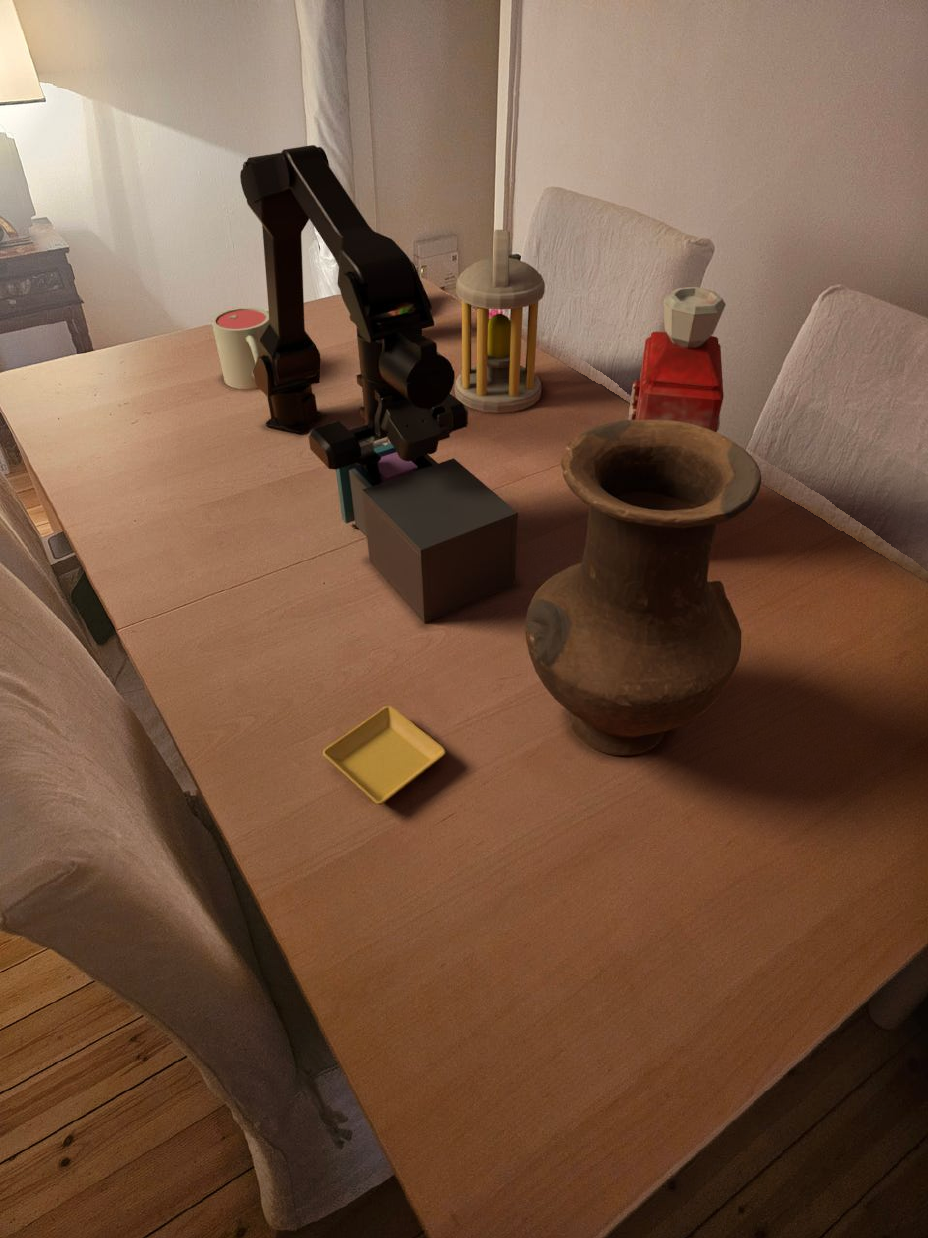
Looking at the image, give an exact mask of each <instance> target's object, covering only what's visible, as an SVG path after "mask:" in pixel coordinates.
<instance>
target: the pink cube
mask: <svg viewBox="0 0 928 1238" xmlns="http://www.w3.org/2000/svg"><path fill="white" fill-rule="evenodd" d="M378 468H379V474H380V481H381V483H383V482H386V481H389V480H392V479H395V478H398V477H401V476H404V475H406V474H409V473H412V472H415V471H418V467H417V466H416V465H415V464H414V463H413V462H412V461H404V460H402V459H401V458H400V457H399V456H398V453H397V452H395V453H392V454H389V455H386V456H383V457H381V459H380V461H379V462H378Z"/></svg>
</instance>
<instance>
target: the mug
mask: <svg viewBox="0 0 928 1238" xmlns="http://www.w3.org/2000/svg"><path fill="white" fill-rule="evenodd" d="M211 325H212V330H213V334H214V340H215V343H216V349H217V352H218V357H219V361H220V362H219V363H220V367H221V371H222V375H223V381H224V383H225V384H226V385H227V386H228V387H231V388H234V389H239V390H256V389H260V388H259V387H258V386H257V385H256V382H255V378H254V375H253V369H254V367H255V364H256V361H257V359H258V357H260V356H259V340H260V338H261V337H262V335H263V333H264V332H265V330H266V328H267V327H268V325H269V311H267V310H265V309H263V308H258V307H247V306H244V307H235V308H230V309H226V310H222V311H220V312H218V313H217V314H215V315H214V316H213V317H212V319H211Z"/></svg>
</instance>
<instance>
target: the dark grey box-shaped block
mask: <svg viewBox="0 0 928 1238" xmlns="http://www.w3.org/2000/svg"><path fill="white" fill-rule="evenodd" d="M362 495H363V505H364V514H365V523H366V532H367V537H366V541H367V547H368V548H367V550H368V558H369V559H368V560H369V562H370V564H372V565H373V567H374V568H375V569H376V570H377V571H378V572H379V574H380V575H381V576H382V577H383V579H385V580H386V581H387V582H388V584H389V585H390V586H391V587H392V588H393V589H394V591H395V592H396V593H397V594H398V595H399V596H400V598H402V600H403V601H404V602H405V603H406V604H407V605H408V606H409V607H410V609H411V610H412V611H413V612H414V613H415V614H416V615H417V617H418V618H419V619H420V620H421V621H422V622H423V623H424V624H426V623H428V622H431V621H433V620H436V619H438V618H440V617H443V616H445V615H447V614H450V613H452V612H454V611H457V610H459V609H462V608H464V607H466V606H468V605H471V604H473V603H475V602H478V601H480V600H482V599H484V598H487V597H489V596H492V595H494V594H497V593H499V592H501V591H504V590H506V589H508V588H511V587H512V586H515V583H516V581H515V580H516V561H517V560H516V559H517V542H518V541H517V540H518V538H517V537H518V518H519V512H518V511H517V510H516V509H514V508H513V506H511V505H510V504H508V503H507V502H506V501H505V500H504V499H502V497H500V496H499V495H498V494H497V493H495V492H494V491H493V490H492V489H491V488H490V487H489V486H488V485H486V484H485V483H484V482H482V480H480V479H479V478H478V477H476V476H475V475H474V474H473V473H472V472H471V471H469V469H467V468H466V467H465V466H464V465H463V464H461V462H459V461H458V460H457V459H456V458H450V459H447V460H444V461H441V462H438V464H436V465H433V466H430V467H427V468H424V469H421V470H418V471H415V472H412V473H409V474H406V475H404V476H401V477H398V478H395V479H392V480H389V481H386V482H383V483H380V484H377V485H374V486H371V487H368V488H366V489H363V490H362Z"/></svg>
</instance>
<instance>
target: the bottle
mask: <svg viewBox="0 0 928 1238" xmlns="http://www.w3.org/2000/svg"><path fill="white" fill-rule="evenodd" d="M662 303H663V323H664V325H663V326H664V331H652V332H651V333H650V336H649V337H647V338H646V339H645V342H644V347H643V348H644V349H643V355H642V362H641V369H640V374H639V375H640V376H639V379H638V380H635V381H634V383H632V389H631V394H630V401H629V410H628V415H627V416H628V417H627V420H672V421H680V422H685V423H690V424H693V425H697V426H700V427H703V428H706V429H709V430H712V431H714V432H716V433H718V431H719V430H720V427H721V426H720V425H721V417H720V416H721V415H720V414H721V410H722V406H723V401H724V397H725V395H724V384H723V382H724V381H723V364H722V349H721V348H722V347H721V344H720V343H719V338H718V337H717V336H714V333H715V331H716V329H717V326H718V323H719V321H720V319H721V316H722V315H723V312H724V310H725V307H726V306H727V305H726V302H725V301H724V299H723V298H722V297H721V296H720V295H719V294H718V293H717V292H716V291H715V290H712V289H707V288H702V287H698V286H689V287H688V286H687V287H677V288H675V289H674V290H673V291H671V292H670V293H668V295H667V296H666V297H664V299H663V300H662Z"/></svg>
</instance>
